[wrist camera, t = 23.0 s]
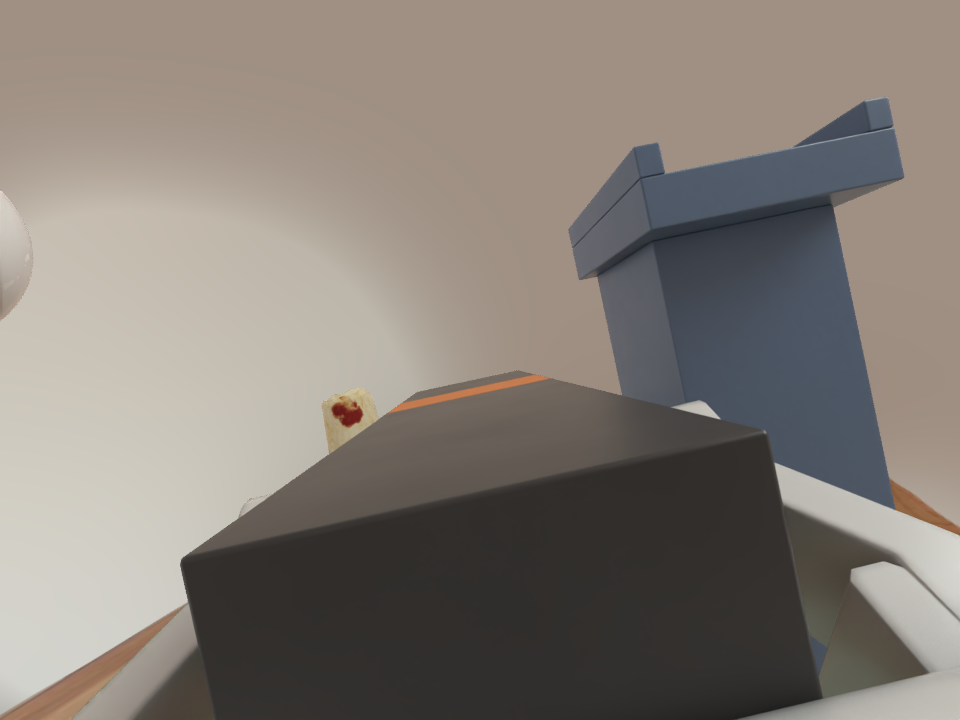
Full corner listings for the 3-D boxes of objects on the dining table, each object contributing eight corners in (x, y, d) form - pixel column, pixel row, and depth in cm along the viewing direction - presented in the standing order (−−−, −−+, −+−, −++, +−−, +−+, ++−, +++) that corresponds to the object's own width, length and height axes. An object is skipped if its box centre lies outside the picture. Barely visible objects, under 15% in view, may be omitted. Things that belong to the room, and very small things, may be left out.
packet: (850, 816, 4) (771, 427, 4) (262, 959, 4) (173, 557, 4) (533, 438, 22) (519, 370, 22) (430, 461, 22) (415, 392, 22)
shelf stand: (1044, 790, 19) (898, 76, 19) (768, 857, 19) (616, 133, 19) (807, 613, 33) (719, 193, 33) (642, 651, 33) (553, 227, 32)
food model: (379, 545, 64) (346, 390, 64) (334, 550, 66) (302, 399, 66) (412, 517, 73) (383, 382, 73) (371, 522, 75) (343, 390, 75)
